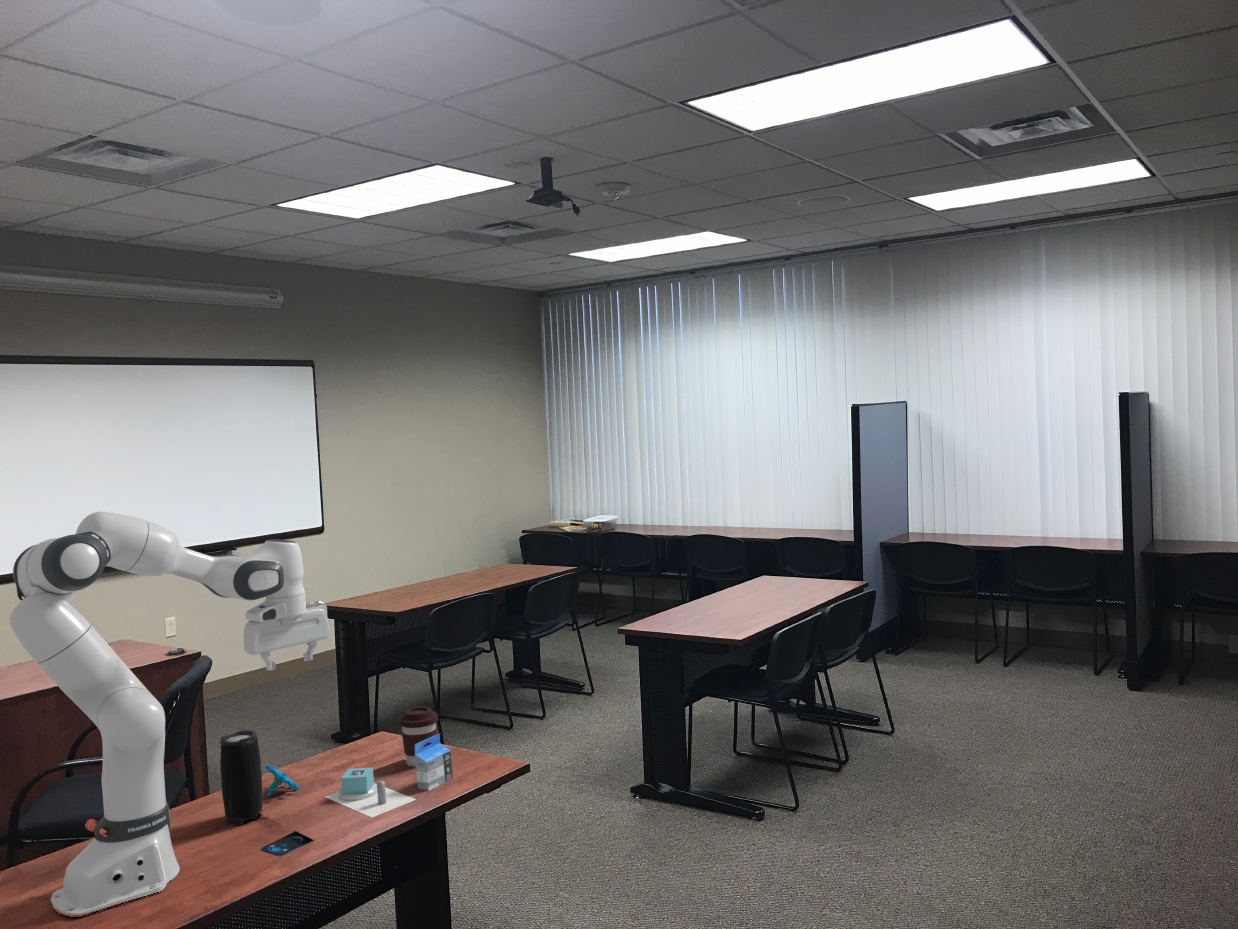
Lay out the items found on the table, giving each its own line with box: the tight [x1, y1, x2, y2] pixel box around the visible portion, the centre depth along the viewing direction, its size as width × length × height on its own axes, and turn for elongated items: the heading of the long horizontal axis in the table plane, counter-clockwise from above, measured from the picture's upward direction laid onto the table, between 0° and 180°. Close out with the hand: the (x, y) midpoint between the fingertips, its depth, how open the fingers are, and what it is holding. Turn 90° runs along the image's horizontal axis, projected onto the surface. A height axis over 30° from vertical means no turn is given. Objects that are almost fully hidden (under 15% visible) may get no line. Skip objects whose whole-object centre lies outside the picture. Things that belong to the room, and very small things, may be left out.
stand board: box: [325, 771, 417, 818], centre depth 216 cm, size 12×20×6 cm, turn 48°
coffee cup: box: [398, 706, 439, 767], centre depth 239 cm, size 10×10×15 cm
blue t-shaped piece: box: [265, 764, 300, 797], centre depth 226 cm, size 11×6×10 cm
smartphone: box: [259, 830, 315, 857], centre depth 199 cm, size 8×1×15 cm
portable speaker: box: [219, 729, 263, 826], centre depth 211 cm, size 9×9×20 cm
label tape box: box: [415, 733, 454, 792], centre depth 223 cm, size 9×4×12 cm, turn 148°
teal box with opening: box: [340, 767, 375, 795], centre depth 219 cm, size 6×6×4 cm
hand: (290, 665), depth 215 cm, fingers open, 8 cm apart
